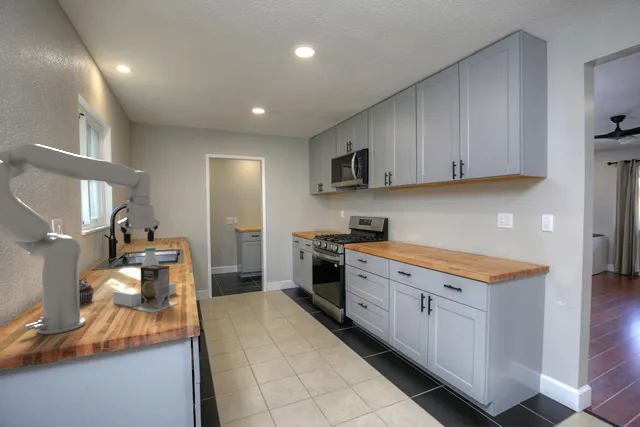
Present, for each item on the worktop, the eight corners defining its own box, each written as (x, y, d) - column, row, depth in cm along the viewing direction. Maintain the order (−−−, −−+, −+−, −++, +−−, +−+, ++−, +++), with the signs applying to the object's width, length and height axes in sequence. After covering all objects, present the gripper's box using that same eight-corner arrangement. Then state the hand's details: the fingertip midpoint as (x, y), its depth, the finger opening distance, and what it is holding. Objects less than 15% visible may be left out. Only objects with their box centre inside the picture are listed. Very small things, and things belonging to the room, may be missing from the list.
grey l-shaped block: (132, 307, 125) (132, 295, 125) (113, 303, 130) (113, 291, 130) (175, 293, 144) (175, 282, 144) (157, 290, 149) (157, 280, 149)
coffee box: (140, 306, 124) (139, 267, 124) (153, 301, 130) (152, 264, 130) (158, 309, 121) (157, 268, 121) (170, 303, 128) (169, 265, 127)
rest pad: (152, 313, 118) (152, 311, 118) (132, 308, 123) (132, 307, 123) (178, 303, 129) (178, 302, 129) (158, 300, 134) (158, 299, 134)
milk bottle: (162, 284, 160) (161, 246, 159) (153, 288, 152) (152, 248, 152) (148, 284, 161) (148, 246, 160) (138, 288, 153) (137, 248, 152)
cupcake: (65, 307, 124) (65, 283, 124) (65, 301, 132) (65, 278, 131) (95, 303, 130) (94, 279, 130) (93, 297, 138) (93, 275, 137)
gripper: (123, 200, 117) (123, 245, 117) (164, 201, 132) (164, 241, 132) (112, 200, 120) (111, 243, 120) (153, 201, 135) (153, 240, 136)
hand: (139, 242), depth 126 cm, fingers open, 9 cm apart
